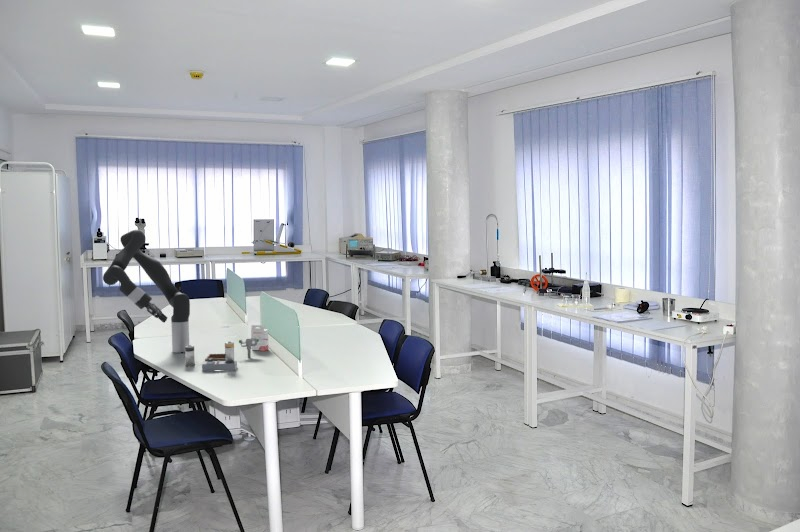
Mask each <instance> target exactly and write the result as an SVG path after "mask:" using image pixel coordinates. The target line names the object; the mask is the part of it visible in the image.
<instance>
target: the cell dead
mask: <svg viewBox="0 0 800 532" xmlns="http://www.w3.org/2000/svg"><path fill="white" fill-rule="evenodd" d="M184 353H185V354H184V355H185V367H188V366H190V367H194V366H195V365H196V364H195V363H196V362H195V345H191V344H189V345H188V346H185V352H184Z"/></svg>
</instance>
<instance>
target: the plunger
mask: <svg viewBox="0 0 800 532" xmlns="http://www.w3.org/2000/svg"><path fill="white" fill-rule="evenodd" d="M206 360H207V364H214V358H208V359H206Z"/></svg>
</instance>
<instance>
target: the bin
mask: <svg viewBox="0 0 800 532" xmlns="http://www.w3.org/2000/svg"><path fill="white" fill-rule="evenodd" d="M208 358H214V361H225V353H208V355H207V356H206V357H205V358H204V361H207V360H206V359H208Z"/></svg>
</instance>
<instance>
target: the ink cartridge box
mask: <svg viewBox="0 0 800 532" xmlns="http://www.w3.org/2000/svg"><path fill="white" fill-rule="evenodd" d="M250 337H251V338H250V339H252V338H257V339H259V342H257V345H256V346H251V351H253V350H259V351H258V352H265V351H268V350H269V329H265V325H259V324H256V325H255V324H251V330H250ZM252 343H254V341H252Z"/></svg>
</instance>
